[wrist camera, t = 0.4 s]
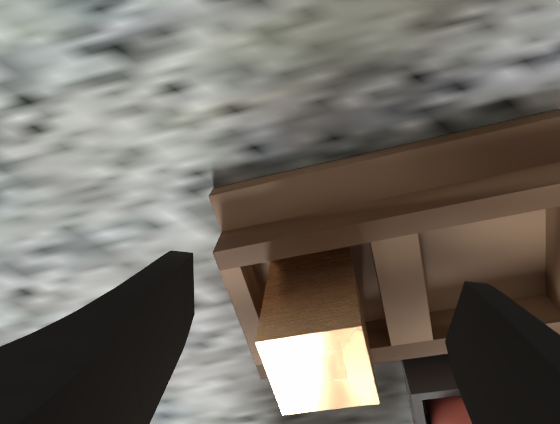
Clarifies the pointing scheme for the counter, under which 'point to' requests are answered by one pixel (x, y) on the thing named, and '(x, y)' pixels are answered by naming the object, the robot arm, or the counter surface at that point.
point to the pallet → (408, 230)
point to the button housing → (428, 382)
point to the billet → (316, 334)
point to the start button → (447, 411)
